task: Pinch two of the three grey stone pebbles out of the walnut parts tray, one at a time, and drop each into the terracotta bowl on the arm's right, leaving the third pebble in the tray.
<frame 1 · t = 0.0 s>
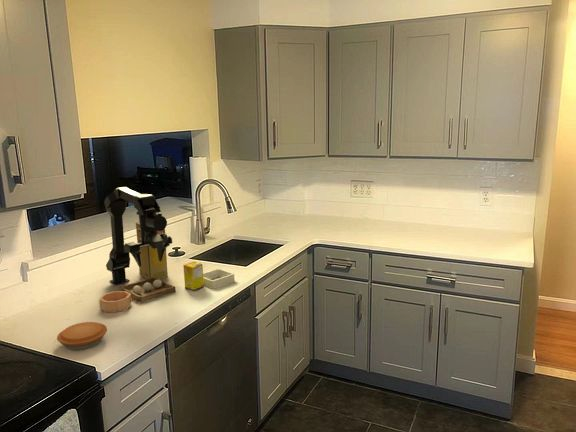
hand: (150, 263, 192), 15 cm above the worktop, fingers open, 9 cm apart
pebble b: (147, 286, 202), point 2 cm above the worktop, touching tray
pie: (83, 343, 159), on the worktop
cream holder: (216, 281, 213), on the worktop
bowl: (116, 306, 187), on the worktop
supplement box: (194, 288, 206), on the worktop
tray: (147, 292, 202), on the worktop
pebble a: (157, 283, 205), point 2 cm above the worktop, touching tray
food packaging: (153, 275, 223), on the worktop
pebble c: (137, 289, 198), point 2 cm above the worktop, touching tray
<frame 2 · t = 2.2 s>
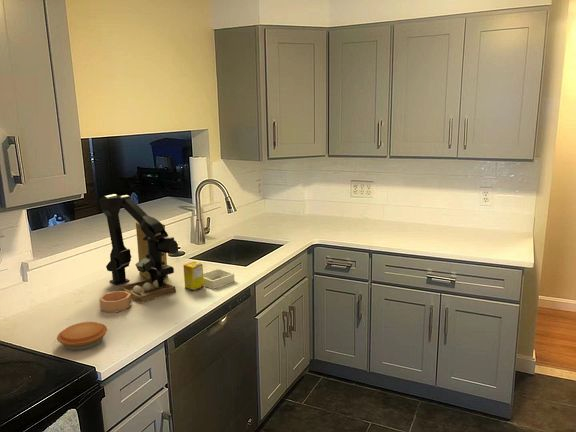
hand: (157, 285, 205), 2 cm above the worktop, fingers closed on pebble a, 4 cm apart
pebble a: (157, 283, 205), point 2 cm above the worktop, touching gripper, tray
everything else where it was.
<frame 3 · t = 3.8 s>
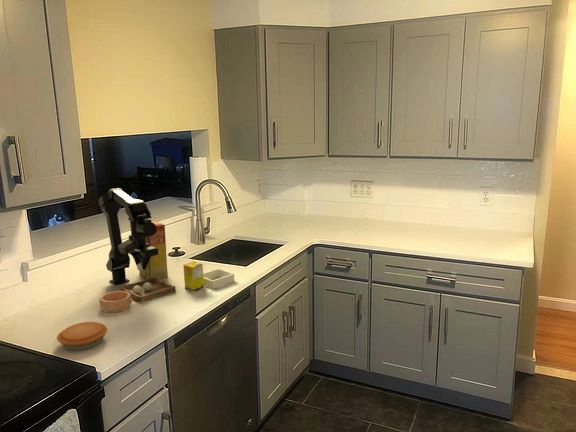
hand: (141, 268, 196), 12 cm above the worktop, fingers closed on pebble a, 4 cm apart
pebble a: (141, 266, 196), point 13 cm above the worktop, touching gripper
everything else where it was.
when the fingers open (6 cm above the worktop, at t = 5.4 s): pebble a drops 4 cm, resting on bowl.
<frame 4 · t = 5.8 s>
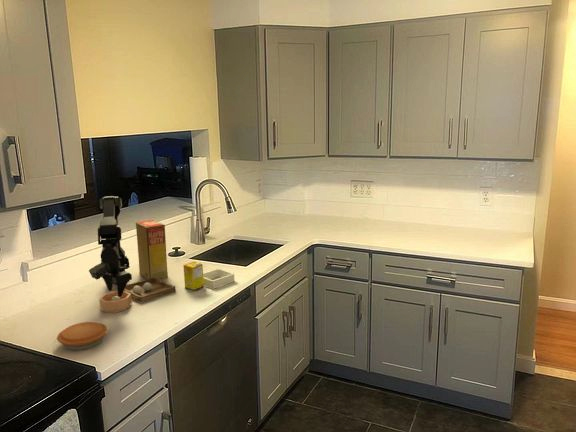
hand: (115, 293, 186), 5 cm above the worktop, fingers open, 8 cm apart
pebble a: (115, 300, 187), point 3 cm above the worktop, touching bowl
everything else where it was.
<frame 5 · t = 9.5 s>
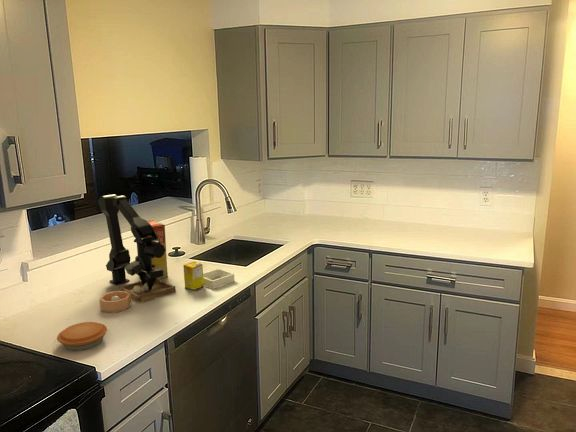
hand: (147, 288, 202), 2 cm above the worktop, fingers closed on pebble b, 4 cm apart
pebble b: (147, 286, 202), point 2 cm above the worktop, touching gripper, tray
pebble a: (115, 300, 187), point 3 cm above the worktop, tilted 9°, touching bowl
everything else where it was.
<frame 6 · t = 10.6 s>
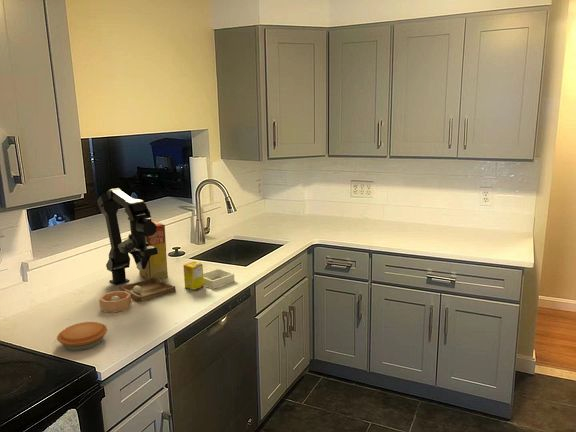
hand: (141, 267, 197), 12 cm above the worktop, fingers closed on pebble b, 4 cm apart
pebble b: (141, 265, 197), point 12 cm above the worktop, touching gripper
everything else where it was.
when the fingers open (6 cm above the worktop, at t = 12.2 s): pebble b drops 4 cm and tips over, resting on bowl.
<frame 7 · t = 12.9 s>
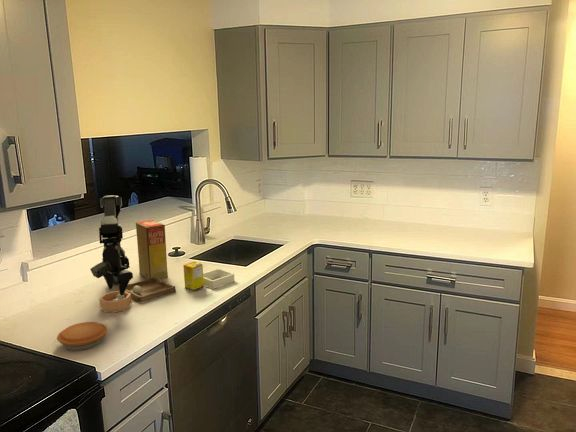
hand: (116, 292, 188), 6 cm above the worktop, fingers open, 9 cm apart
pebble b: (120, 298, 189), point 3 cm above the worktop, tilted 141°, touching bowl
pebble a: (116, 303, 184), point 3 cm above the worktop, tilted 86°, touching bowl
everything else where it was.
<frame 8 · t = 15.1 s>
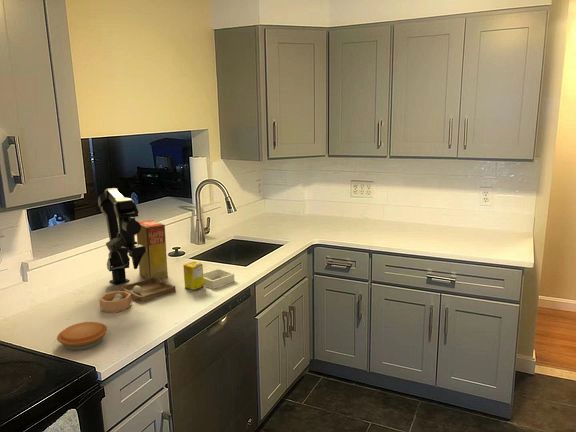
hand: (129, 266, 196), 12 cm above the worktop, fingers open, 9 cm apart
pebble b: (118, 298, 189), point 3 cm above the worktop, tilted 132°, touching bowl
pebble a: (116, 302, 185), point 3 cm above the worktop, tilted 62°, touching bowl
everything else where it was.
at the end: pebble a inside the target area on the bowl (2.0 cm from its centre), point 2.6 cm above the bowl's base; pebble b inside the target area on the bowl (2.2 cm from its centre), point 2.6 cm above the bowl's base; the gripper is holding nothing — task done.
